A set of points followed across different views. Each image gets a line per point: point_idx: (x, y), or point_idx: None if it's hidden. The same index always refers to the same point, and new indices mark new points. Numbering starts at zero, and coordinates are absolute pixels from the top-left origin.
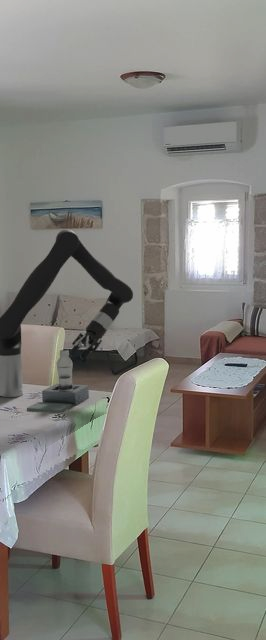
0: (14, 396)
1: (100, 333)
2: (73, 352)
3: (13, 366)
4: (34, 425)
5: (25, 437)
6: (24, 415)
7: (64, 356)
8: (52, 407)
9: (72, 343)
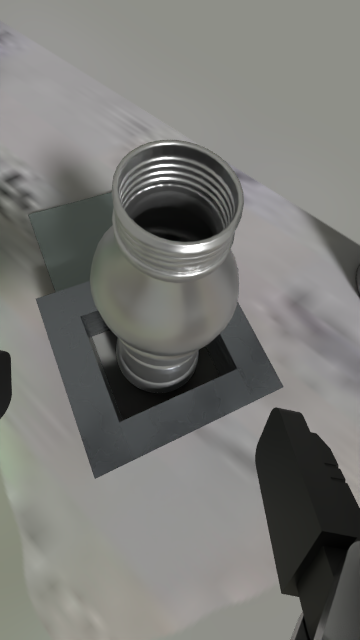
0: (358, 271)
1: None
2: (275, 476)
3: None
4: (8, 101)
5: None
6: (120, 149)
7: (135, 207)
8: (86, 224)
9: None
